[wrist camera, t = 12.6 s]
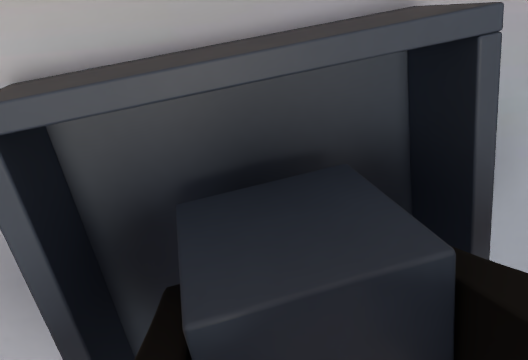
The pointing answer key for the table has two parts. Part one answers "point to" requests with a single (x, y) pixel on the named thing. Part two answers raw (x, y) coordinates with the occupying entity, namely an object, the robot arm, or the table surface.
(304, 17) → the table surface
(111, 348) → the slate bin
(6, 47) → the table surface
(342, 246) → the slate block
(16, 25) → the table surface
